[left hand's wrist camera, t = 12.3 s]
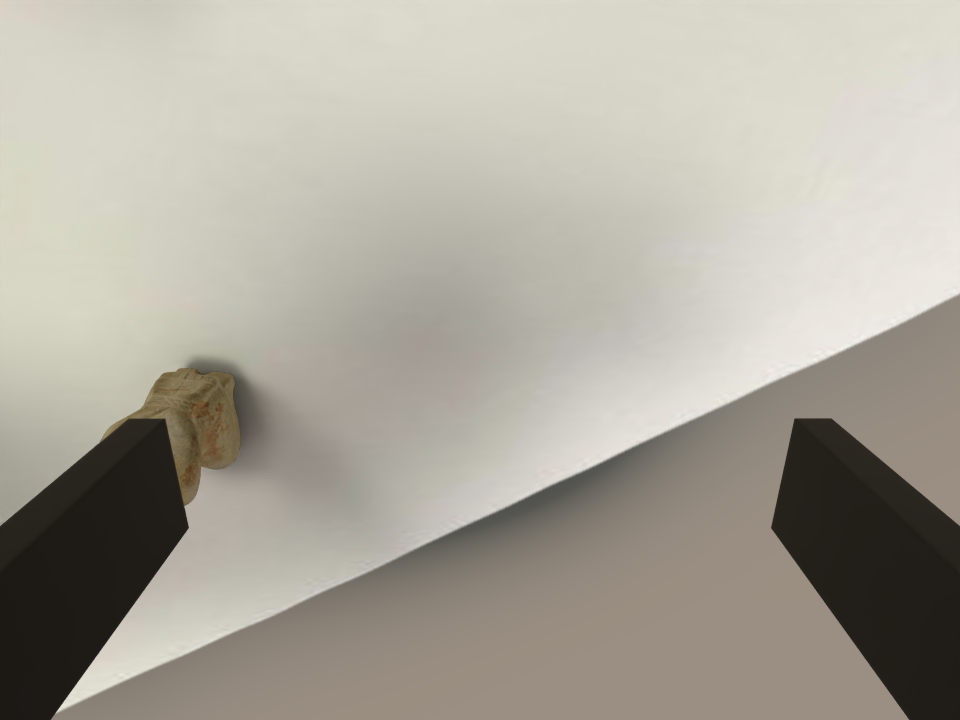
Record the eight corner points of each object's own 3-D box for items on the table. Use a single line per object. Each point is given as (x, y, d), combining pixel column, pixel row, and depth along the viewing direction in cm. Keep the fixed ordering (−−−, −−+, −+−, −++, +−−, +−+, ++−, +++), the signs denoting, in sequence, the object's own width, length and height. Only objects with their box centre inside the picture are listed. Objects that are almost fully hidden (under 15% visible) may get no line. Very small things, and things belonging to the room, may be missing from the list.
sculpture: (167, 446, 41) (8, 610, 27) (166, 349, 39) (-10, 476, 25) (253, 459, 42) (138, 627, 28) (257, 364, 39) (134, 498, 25)
